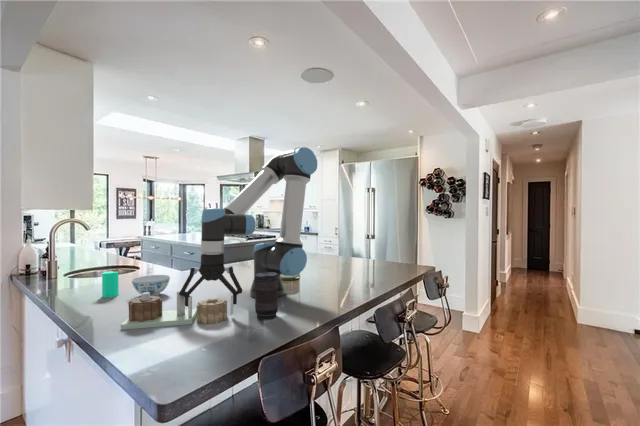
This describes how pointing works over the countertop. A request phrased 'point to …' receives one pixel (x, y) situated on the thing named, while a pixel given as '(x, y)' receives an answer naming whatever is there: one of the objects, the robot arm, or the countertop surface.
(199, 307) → the maple gear
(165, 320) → the gear board
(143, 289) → the chinaware
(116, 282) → the candle
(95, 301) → the countertop surface
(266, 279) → the camera lens
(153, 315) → the walnut gear
